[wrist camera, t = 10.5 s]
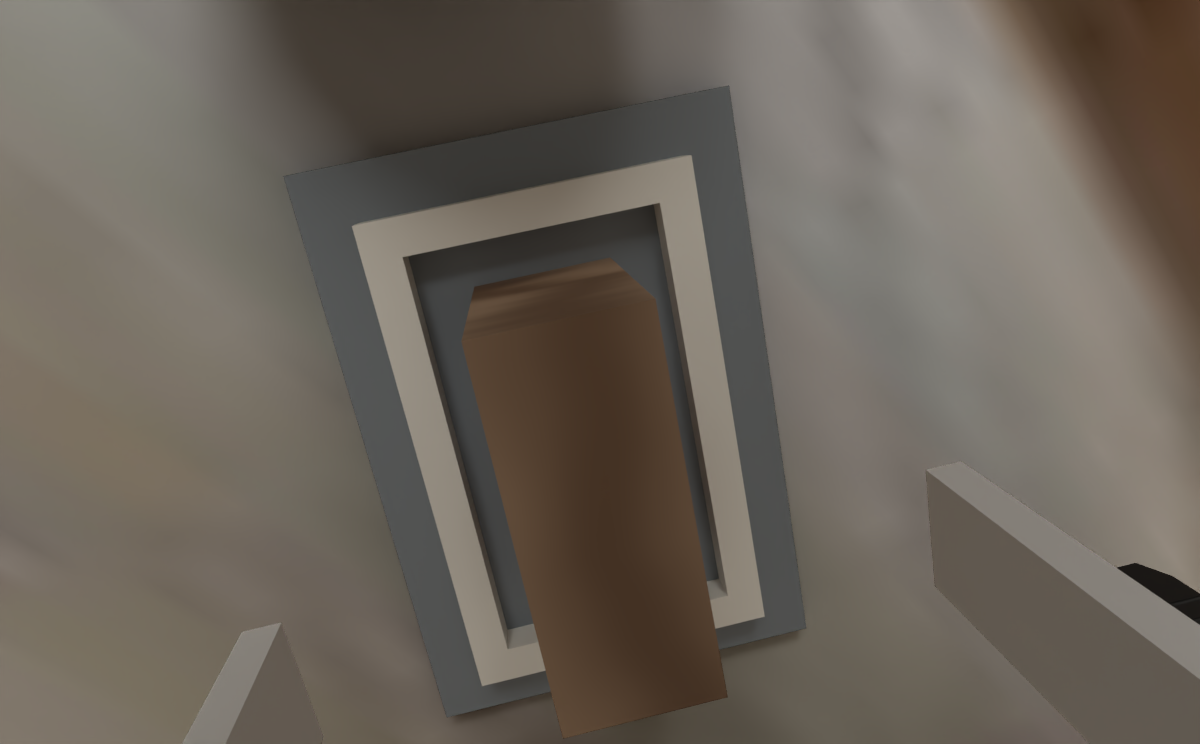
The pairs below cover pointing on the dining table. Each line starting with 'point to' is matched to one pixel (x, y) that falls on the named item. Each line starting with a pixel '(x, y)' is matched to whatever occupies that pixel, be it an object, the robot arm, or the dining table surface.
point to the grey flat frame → (442, 380)
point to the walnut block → (595, 491)
